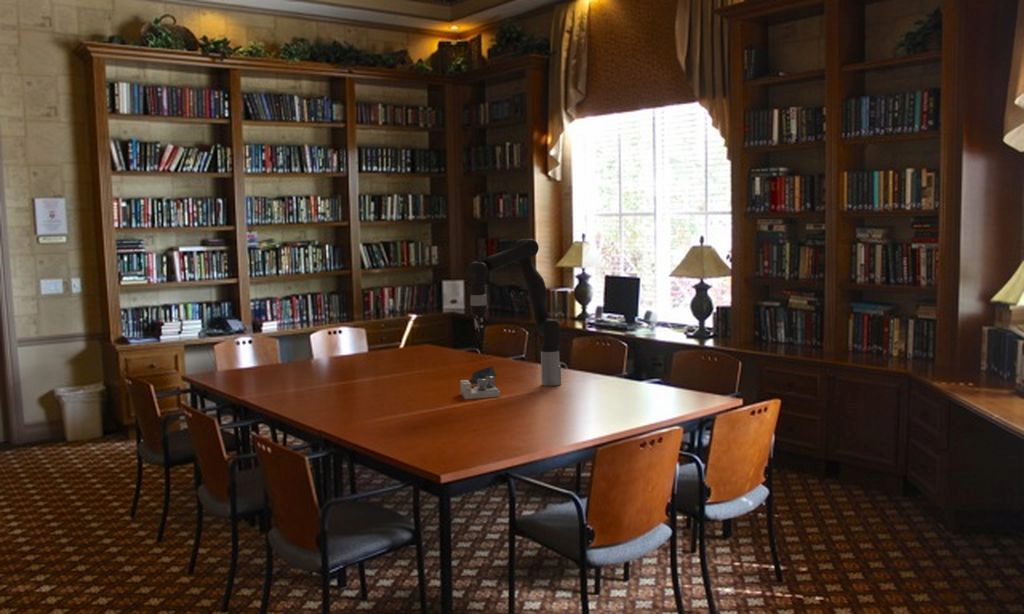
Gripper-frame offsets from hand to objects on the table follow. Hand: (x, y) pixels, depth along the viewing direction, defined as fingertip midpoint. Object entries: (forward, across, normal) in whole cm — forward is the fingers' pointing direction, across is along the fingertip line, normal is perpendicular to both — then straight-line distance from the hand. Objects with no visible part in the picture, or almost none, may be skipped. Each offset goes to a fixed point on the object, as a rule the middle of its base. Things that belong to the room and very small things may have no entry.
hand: (480, 338), depth 429 cm
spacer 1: (+25, 0, 0) cm, 25 cm away
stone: (+28, +26, -5) cm, 39 cm away
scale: (+28, +3, 0) cm, 28 cm away
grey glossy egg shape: (+25, +6, -5) cm, 26 cm away
